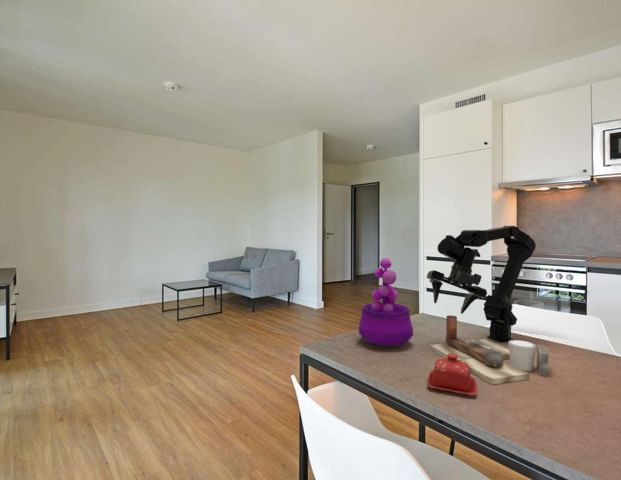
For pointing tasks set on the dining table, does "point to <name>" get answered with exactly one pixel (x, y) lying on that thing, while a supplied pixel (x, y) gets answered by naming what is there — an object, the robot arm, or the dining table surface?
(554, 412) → the dining table surface
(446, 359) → the butter dish
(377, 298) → the decorative plant
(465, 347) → the lever
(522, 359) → the white mug
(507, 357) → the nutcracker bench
